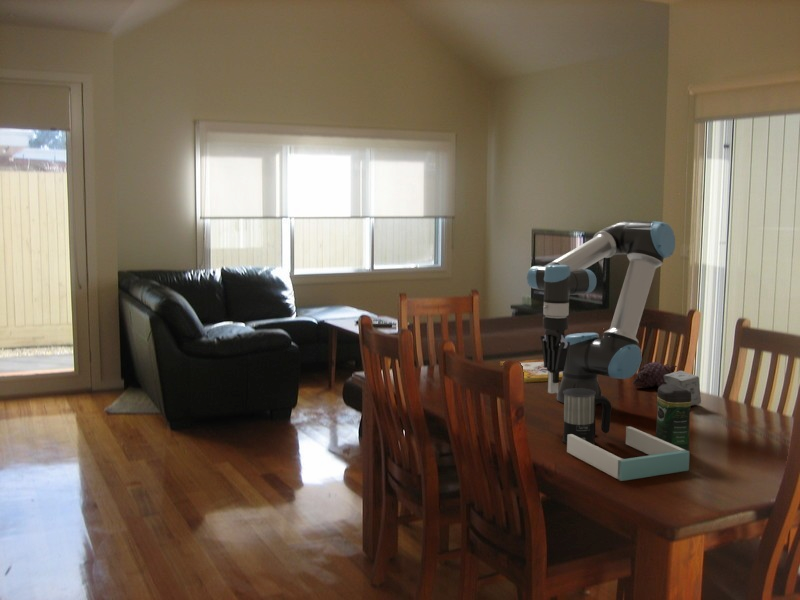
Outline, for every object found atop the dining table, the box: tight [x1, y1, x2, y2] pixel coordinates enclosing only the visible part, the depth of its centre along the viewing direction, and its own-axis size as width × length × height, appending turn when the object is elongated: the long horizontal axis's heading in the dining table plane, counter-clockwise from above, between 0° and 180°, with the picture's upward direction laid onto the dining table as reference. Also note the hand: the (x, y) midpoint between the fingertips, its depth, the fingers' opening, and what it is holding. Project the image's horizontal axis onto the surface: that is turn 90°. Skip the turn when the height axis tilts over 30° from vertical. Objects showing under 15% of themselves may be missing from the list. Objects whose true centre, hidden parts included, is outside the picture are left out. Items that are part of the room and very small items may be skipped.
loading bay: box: [566, 426, 690, 482], centre depth 226 cm, size 24×21×5 cm
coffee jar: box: [655, 384, 691, 452], centre depth 233 cm, size 10×8×19 cm
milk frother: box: [561, 388, 612, 445], centre depth 246 cm, size 14×16×15 cm
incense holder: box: [664, 370, 702, 406], centre depth 283 cm, size 10×8×10 cm
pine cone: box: [632, 361, 677, 389], centre depth 307 cm, size 18×10×10 cm
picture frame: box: [499, 359, 563, 383], centre depth 332 cm, size 27×2×30 cm
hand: (553, 392), depth 258 cm, fingers closed
